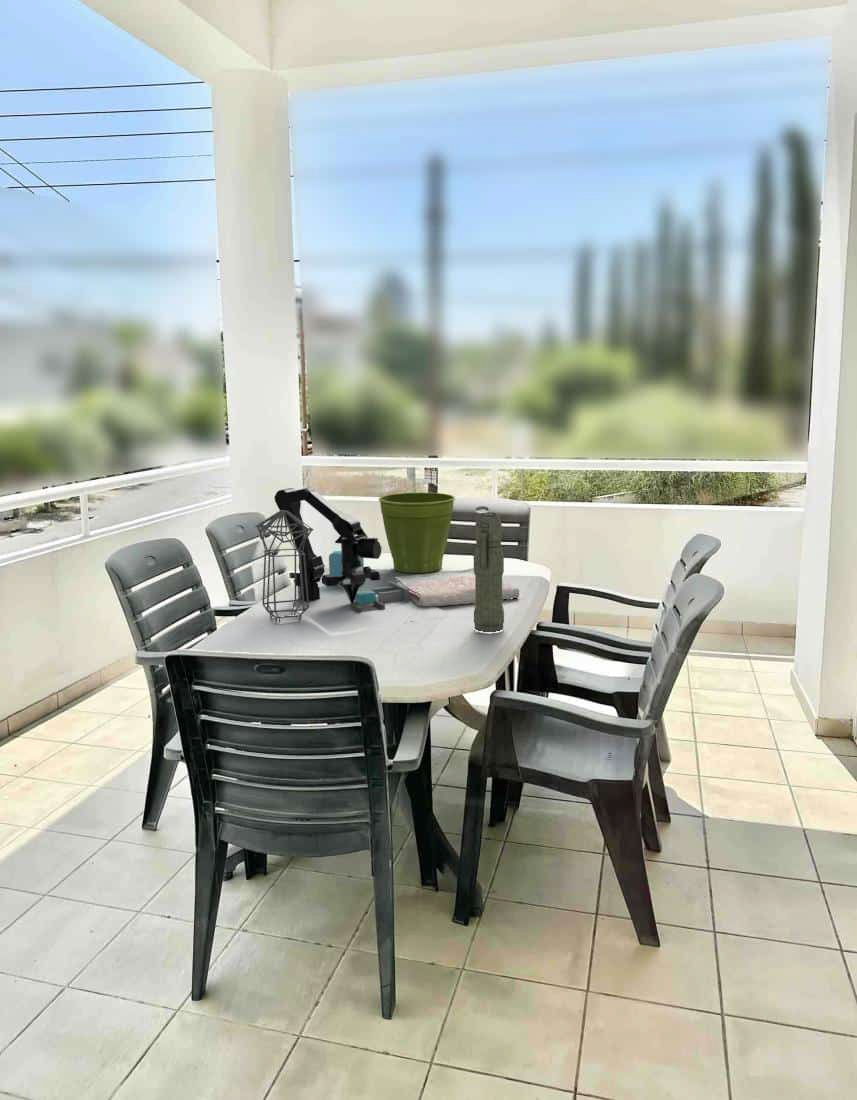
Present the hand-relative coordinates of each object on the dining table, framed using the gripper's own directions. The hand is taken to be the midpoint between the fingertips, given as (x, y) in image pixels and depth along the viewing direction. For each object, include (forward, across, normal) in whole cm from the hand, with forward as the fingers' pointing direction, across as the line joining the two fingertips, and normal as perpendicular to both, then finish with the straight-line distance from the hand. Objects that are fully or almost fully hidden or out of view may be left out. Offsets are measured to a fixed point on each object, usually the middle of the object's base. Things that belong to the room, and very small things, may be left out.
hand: (351, 602), depth 289 cm
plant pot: (+1, +44, +42) cm, 60 cm away
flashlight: (+1, +25, -47) cm, 53 cm away
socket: (+1, +13, 0) cm, 13 cm away
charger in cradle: (+1, +2, -8) cm, 9 cm away
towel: (+2, +37, -2) cm, 37 cm away
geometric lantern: (+1, -24, -6) cm, 25 cm away
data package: (+1, +10, +31) cm, 33 cm away
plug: (+1, +5, 0) cm, 5 cm away
